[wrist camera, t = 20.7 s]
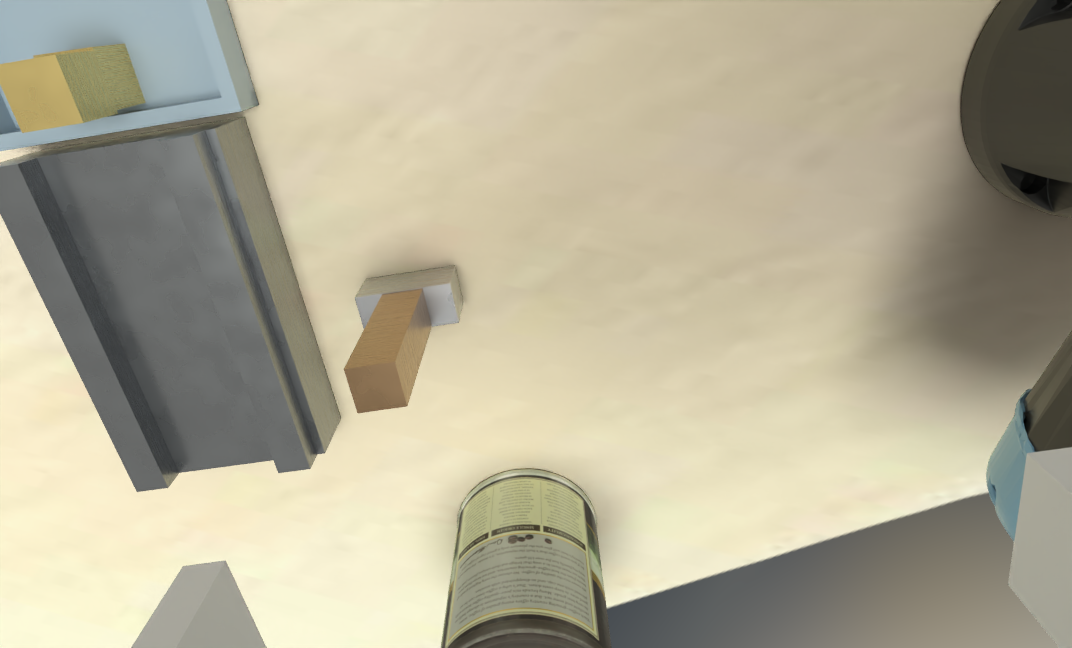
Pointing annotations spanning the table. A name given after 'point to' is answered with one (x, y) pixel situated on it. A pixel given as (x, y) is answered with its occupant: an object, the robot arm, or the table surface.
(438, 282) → the hammer
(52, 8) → the tray
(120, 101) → the yellow wooden cube
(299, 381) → the slot bed
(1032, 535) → the robot arm
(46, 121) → the yellow cube
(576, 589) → the coffee can
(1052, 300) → the table surface
